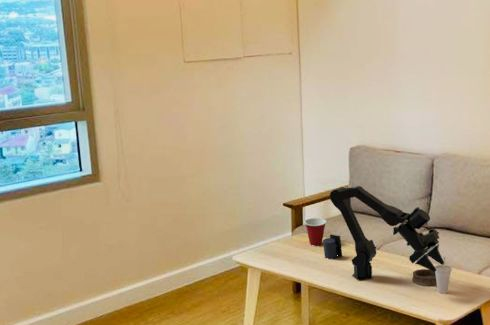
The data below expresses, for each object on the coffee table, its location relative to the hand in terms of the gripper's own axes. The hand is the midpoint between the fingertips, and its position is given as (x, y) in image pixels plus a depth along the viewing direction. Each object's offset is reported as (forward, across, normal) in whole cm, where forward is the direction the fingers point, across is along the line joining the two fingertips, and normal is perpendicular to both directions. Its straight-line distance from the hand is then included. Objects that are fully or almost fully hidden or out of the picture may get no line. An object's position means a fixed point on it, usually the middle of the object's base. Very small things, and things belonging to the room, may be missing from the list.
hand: (439, 267), depth 242 cm
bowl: (+1, +9, +12) cm, 15 cm away
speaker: (-33, +17, +46) cm, 59 cm away
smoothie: (+8, 0, +6) cm, 10 cm away
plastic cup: (-44, +32, +57) cm, 79 cm away
